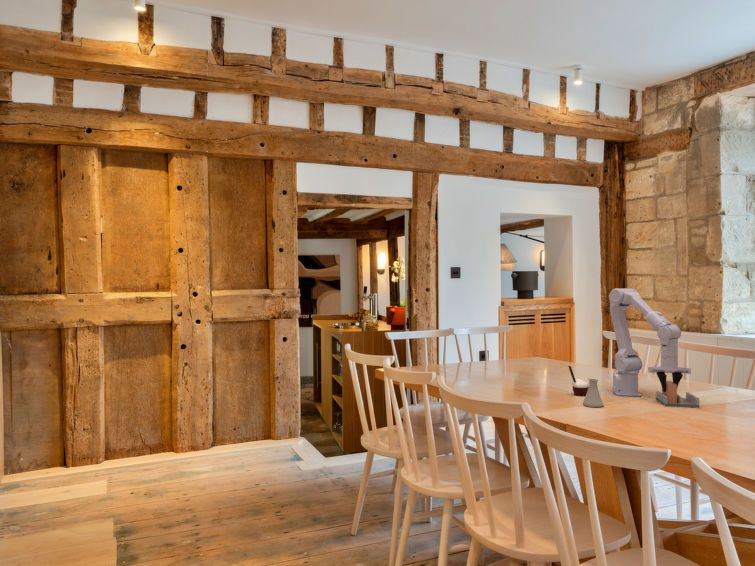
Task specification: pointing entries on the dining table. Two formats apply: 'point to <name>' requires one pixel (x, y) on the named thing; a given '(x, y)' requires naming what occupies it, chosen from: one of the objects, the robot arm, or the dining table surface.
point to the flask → (593, 395)
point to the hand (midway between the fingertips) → (669, 391)
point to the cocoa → (578, 385)
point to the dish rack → (679, 400)
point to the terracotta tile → (671, 392)
